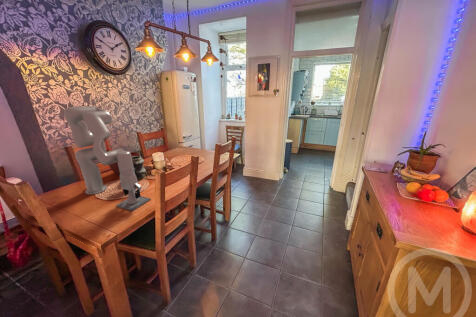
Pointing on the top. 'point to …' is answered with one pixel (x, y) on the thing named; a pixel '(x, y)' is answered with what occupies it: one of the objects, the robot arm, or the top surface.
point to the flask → (132, 198)
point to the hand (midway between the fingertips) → (132, 196)
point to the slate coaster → (133, 206)
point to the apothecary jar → (138, 166)
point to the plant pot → (115, 165)
